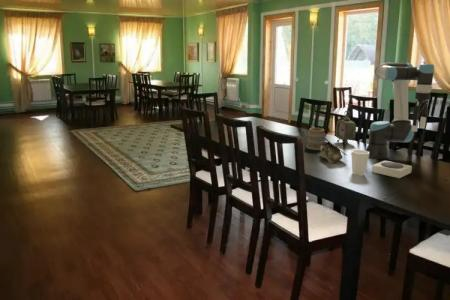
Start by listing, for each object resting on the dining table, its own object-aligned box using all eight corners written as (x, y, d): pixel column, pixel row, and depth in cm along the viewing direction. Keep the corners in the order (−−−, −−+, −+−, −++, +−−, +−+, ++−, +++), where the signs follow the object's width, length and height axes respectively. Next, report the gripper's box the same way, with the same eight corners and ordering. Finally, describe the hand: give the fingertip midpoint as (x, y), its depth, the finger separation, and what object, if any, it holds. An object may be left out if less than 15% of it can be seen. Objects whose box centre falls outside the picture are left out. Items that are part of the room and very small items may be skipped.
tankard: (326, 150, 277) (327, 129, 273) (308, 149, 277) (309, 129, 273) (320, 144, 296) (321, 124, 293) (303, 143, 296) (304, 124, 293)
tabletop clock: (334, 141, 305) (337, 109, 299) (345, 141, 307) (347, 109, 302) (344, 145, 292) (347, 112, 286) (355, 145, 294) (358, 112, 288)
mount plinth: (371, 171, 226) (372, 164, 225) (384, 166, 237) (384, 159, 236) (399, 178, 215) (400, 170, 214) (411, 172, 226) (412, 165, 225)
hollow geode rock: (324, 160, 269) (310, 144, 267) (339, 147, 266) (324, 131, 265) (333, 170, 241) (317, 153, 240) (349, 157, 239) (333, 139, 237)
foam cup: (367, 172, 224) (369, 150, 221) (367, 177, 216) (369, 154, 213) (349, 170, 227) (351, 149, 224) (349, 175, 219) (351, 152, 216)
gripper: (423, 94, 206) (417, 133, 211) (437, 91, 224) (432, 127, 229) (408, 93, 211) (403, 131, 216) (423, 90, 229) (418, 126, 234)
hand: (418, 129), depth 223 cm, fingers open, 13 cm apart
